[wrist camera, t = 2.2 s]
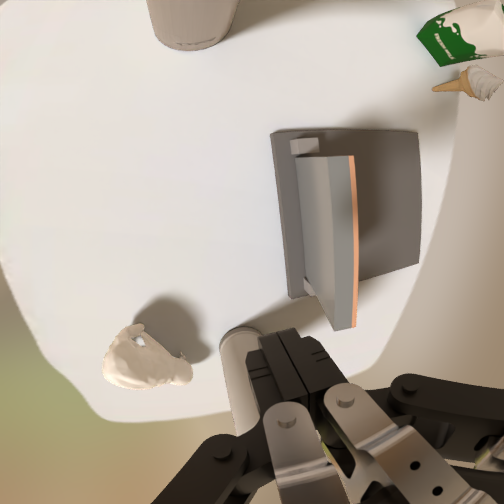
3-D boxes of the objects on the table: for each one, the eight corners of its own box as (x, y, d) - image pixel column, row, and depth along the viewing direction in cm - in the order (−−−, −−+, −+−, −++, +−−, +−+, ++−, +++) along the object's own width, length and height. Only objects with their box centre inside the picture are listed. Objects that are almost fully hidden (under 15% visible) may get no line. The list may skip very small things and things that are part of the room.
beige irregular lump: (110, 353, 23) (209, 390, 28) (119, 309, 31) (199, 345, 36) (94, 387, 24) (185, 418, 29) (103, 343, 32) (178, 373, 37)
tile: (294, 157, 29) (326, 157, 17) (312, 156, 29) (353, 155, 17) (305, 275, 33) (334, 331, 22) (321, 272, 33) (355, 326, 22)
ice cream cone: (420, 95, 30) (497, 85, 16) (422, 67, 29) (493, 52, 15) (441, 111, 32) (514, 108, 18) (443, 84, 31) (511, 76, 17)
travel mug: (273, 332, 37) (334, 450, 18) (250, 366, 38) (291, 484, 19) (233, 317, 35) (275, 449, 16) (211, 354, 36) (234, 483, 17)
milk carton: (452, 52, 29) (532, 39, 10) (441, 73, 30) (533, 62, 11) (424, 16, 26) (503, -10, 7) (410, 34, 27) (502, 5, 8)
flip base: (270, 134, 29) (279, 130, 26) (412, 133, 32) (427, 132, 29) (288, 295, 35) (297, 307, 32) (414, 260, 39) (427, 267, 35)
